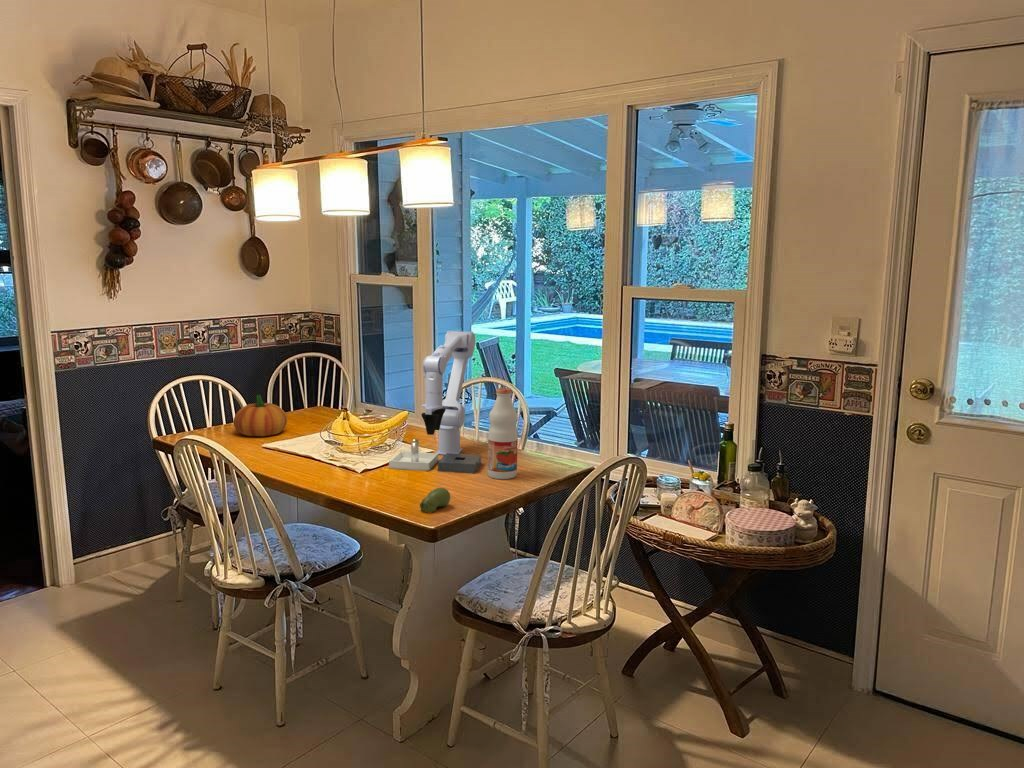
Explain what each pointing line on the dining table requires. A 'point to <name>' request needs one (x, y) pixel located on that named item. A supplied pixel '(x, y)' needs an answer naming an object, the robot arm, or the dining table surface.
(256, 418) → the pumpkin
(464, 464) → the block
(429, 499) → the pear
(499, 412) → the fruit juice
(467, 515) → the dining table surface
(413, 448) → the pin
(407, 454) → the tray
